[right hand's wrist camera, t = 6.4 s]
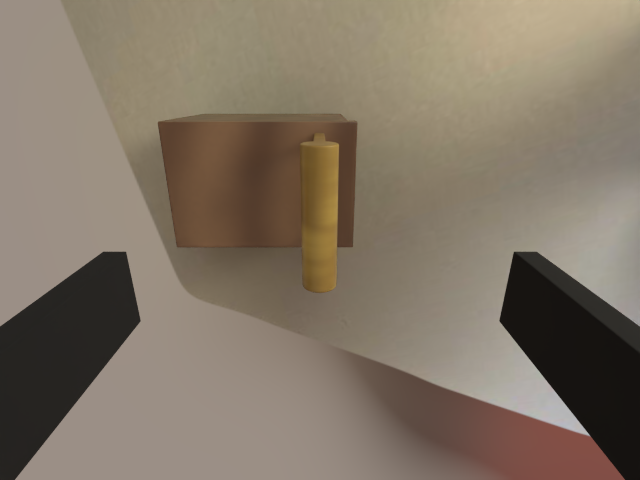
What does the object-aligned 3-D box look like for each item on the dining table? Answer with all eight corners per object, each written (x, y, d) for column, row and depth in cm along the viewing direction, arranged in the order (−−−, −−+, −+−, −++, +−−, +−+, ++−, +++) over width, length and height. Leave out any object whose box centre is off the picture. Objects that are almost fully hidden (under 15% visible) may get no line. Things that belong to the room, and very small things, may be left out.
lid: (355, 120, 25) (373, 133, 17) (351, 242, 29) (364, 302, 20) (163, 120, 25) (87, 133, 17) (181, 242, 29) (125, 302, 20)
